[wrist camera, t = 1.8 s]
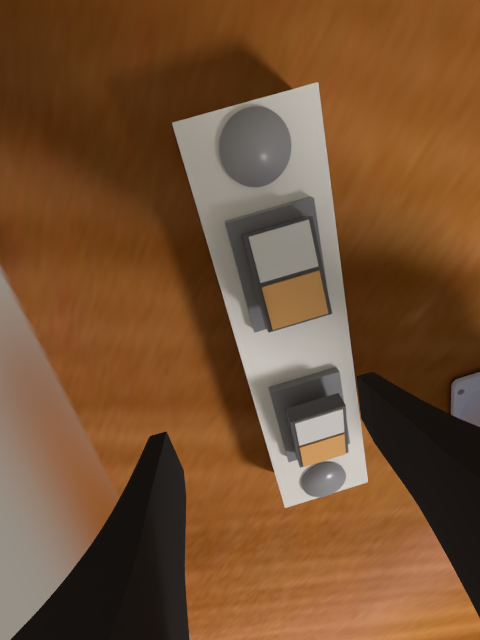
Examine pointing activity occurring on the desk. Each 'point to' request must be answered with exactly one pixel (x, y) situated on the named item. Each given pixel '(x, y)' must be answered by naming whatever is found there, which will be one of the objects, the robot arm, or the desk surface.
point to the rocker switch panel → (236, 281)
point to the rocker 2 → (318, 429)
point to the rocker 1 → (287, 273)
